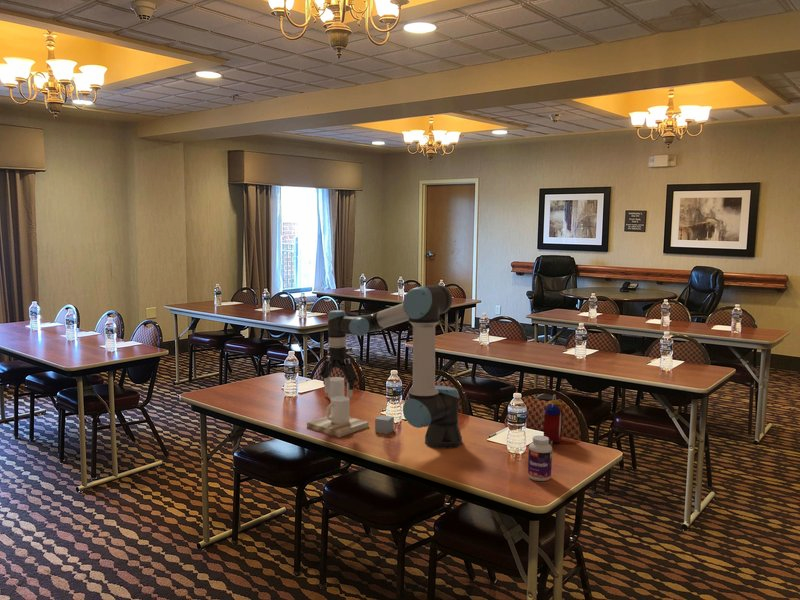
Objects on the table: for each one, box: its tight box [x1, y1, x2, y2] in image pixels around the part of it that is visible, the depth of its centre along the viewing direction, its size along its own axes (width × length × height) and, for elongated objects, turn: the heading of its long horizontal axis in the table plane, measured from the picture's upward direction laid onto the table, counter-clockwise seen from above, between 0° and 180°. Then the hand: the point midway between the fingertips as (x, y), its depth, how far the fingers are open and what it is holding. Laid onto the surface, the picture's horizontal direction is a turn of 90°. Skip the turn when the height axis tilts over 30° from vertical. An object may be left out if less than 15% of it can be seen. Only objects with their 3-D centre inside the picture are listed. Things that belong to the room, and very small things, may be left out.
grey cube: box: [374, 414, 395, 435], centre depth 272 cm, size 6×6×6 cm
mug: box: [325, 395, 351, 424], centre depth 276 cm, size 12×8×10 cm
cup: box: [327, 376, 345, 401], centre depth 326 cm, size 8×12×10 cm
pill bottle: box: [527, 435, 553, 482], centre depth 222 cm, size 8×8×14 cm
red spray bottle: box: [538, 394, 564, 447], centre depth 259 cm, size 15×9×20 cm, turn 160°
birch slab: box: [306, 414, 369, 438], centre depth 277 cm, size 20×18×3 cm
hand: (338, 394), depth 275 cm, fingers open, 13 cm apart
